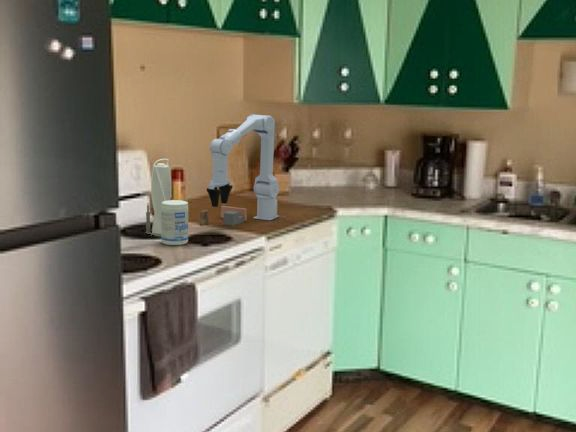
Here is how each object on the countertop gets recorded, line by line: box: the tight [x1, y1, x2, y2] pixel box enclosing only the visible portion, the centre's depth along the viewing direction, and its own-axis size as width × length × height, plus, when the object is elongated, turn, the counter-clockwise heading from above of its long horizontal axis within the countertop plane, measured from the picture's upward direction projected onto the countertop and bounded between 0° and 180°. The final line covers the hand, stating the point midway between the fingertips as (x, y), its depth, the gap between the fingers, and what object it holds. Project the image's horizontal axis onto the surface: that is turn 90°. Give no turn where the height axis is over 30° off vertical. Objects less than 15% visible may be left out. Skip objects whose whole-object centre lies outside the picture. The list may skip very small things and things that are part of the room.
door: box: [220, 205, 248, 222], centre depth 276 cm, size 11×1×5 cm, turn 67°
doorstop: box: [223, 211, 245, 227], centre depth 270 cm, size 9×4×5 cm, turn 157°
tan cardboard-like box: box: [199, 203, 229, 226], centre depth 273 cm, size 20×2×6 cm, turn 157°
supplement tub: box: [160, 199, 189, 246], centre depth 234 cm, size 10×10×15 cm
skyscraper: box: [145, 158, 172, 238], centre depth 246 cm, size 8×8×28 cm
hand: (219, 205), depth 258 cm, fingers open, 7 cm apart
